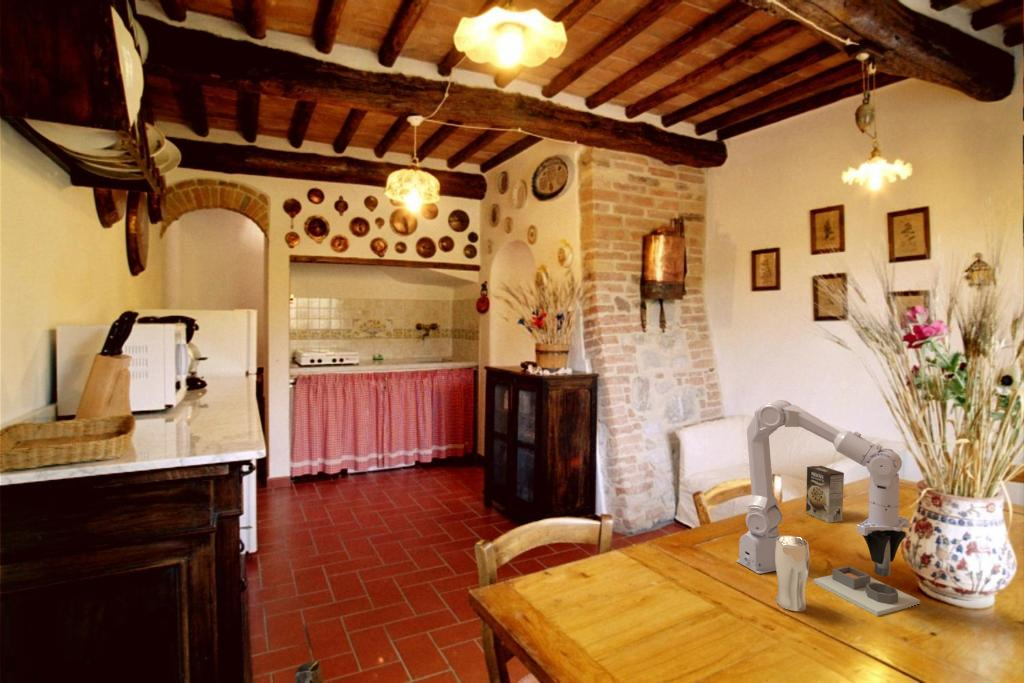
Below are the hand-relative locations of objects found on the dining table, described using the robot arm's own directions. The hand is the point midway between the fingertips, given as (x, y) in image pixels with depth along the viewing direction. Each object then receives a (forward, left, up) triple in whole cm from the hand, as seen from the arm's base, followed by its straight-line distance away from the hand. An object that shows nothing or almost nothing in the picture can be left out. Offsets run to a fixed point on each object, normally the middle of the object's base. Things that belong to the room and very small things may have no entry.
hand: (882, 561), depth 124 cm
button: (0, +7, -8) cm, 11 cm away
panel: (0, +4, -10) cm, 10 cm away
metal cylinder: (0, 0, -3) cm, 3 cm away
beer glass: (-21, +6, -10) cm, 24 cm away
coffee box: (+35, +44, -10) cm, 57 cm away
